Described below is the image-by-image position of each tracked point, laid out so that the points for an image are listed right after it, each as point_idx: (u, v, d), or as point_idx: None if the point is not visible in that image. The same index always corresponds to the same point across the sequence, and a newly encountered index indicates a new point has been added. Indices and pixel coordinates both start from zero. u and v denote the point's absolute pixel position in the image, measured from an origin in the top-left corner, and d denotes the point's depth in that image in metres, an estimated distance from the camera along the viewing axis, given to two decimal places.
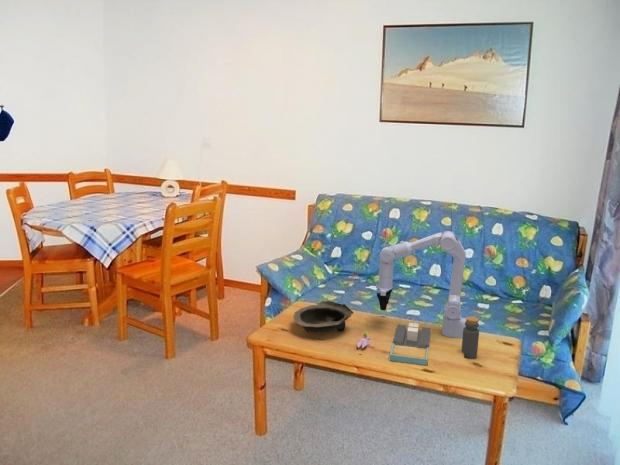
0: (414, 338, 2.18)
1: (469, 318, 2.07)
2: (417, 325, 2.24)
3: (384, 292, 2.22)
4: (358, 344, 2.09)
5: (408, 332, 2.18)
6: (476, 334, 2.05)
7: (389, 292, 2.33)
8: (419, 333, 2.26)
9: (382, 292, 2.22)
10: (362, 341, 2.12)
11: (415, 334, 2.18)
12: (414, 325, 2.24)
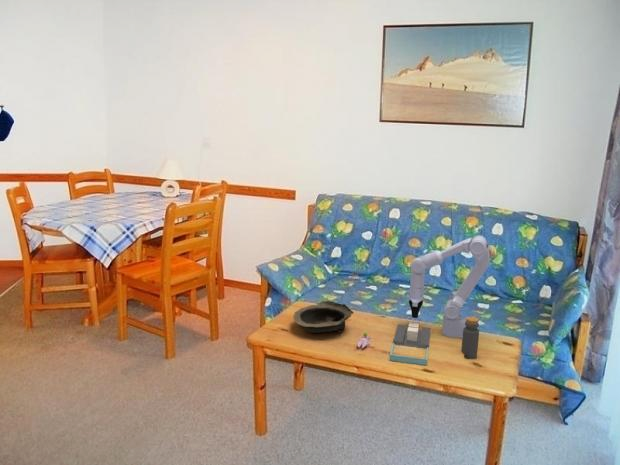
0: (414, 338, 2.18)
1: (469, 318, 2.07)
2: (417, 325, 2.24)
3: (416, 303, 2.21)
4: (358, 344, 2.10)
5: (408, 332, 2.18)
6: (476, 334, 2.05)
7: None
8: (419, 333, 2.26)
9: (414, 303, 2.22)
10: (362, 341, 2.12)
11: (415, 334, 2.18)
12: (414, 325, 2.24)
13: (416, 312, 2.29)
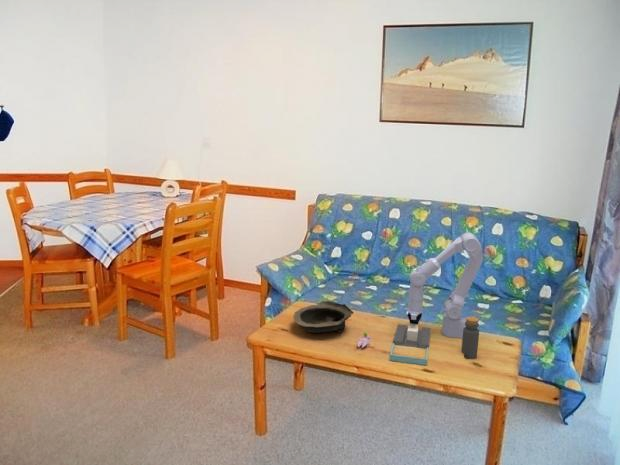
0: (414, 338, 2.18)
1: (469, 318, 2.06)
2: (417, 326, 2.23)
3: (415, 316, 2.19)
4: (358, 343, 2.10)
5: (408, 332, 2.18)
6: (476, 334, 2.05)
7: None
8: (419, 333, 2.26)
9: (413, 316, 2.19)
10: (362, 340, 2.13)
11: (415, 334, 2.18)
12: (413, 325, 2.23)
13: None
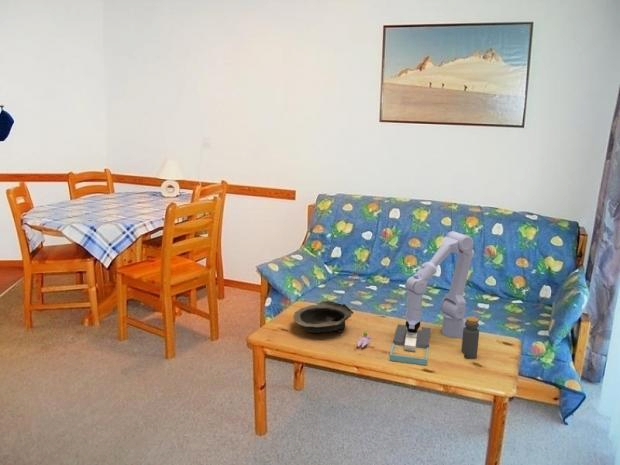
0: None
1: (469, 318, 2.07)
2: (415, 335, 2.14)
3: (413, 325, 2.10)
4: (358, 343, 2.10)
5: (406, 346, 2.09)
6: (476, 334, 2.05)
7: None
8: (419, 333, 2.26)
9: (411, 325, 2.10)
10: (362, 340, 2.13)
11: (413, 348, 2.08)
12: (411, 334, 2.14)
13: None
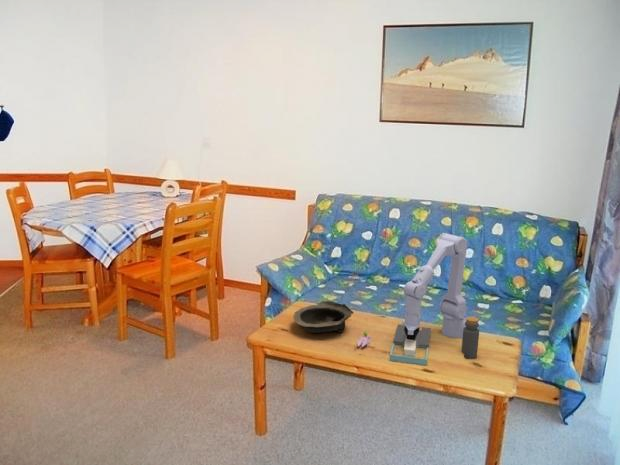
0: (411, 356, 2.04)
1: (469, 318, 2.07)
2: (414, 343, 2.08)
3: (412, 331, 2.04)
4: (358, 343, 2.10)
5: (405, 351, 2.04)
6: (476, 334, 2.05)
7: None
8: (419, 333, 2.26)
9: (410, 331, 2.04)
10: (362, 340, 2.13)
11: (412, 353, 2.03)
12: (410, 342, 2.09)
13: None
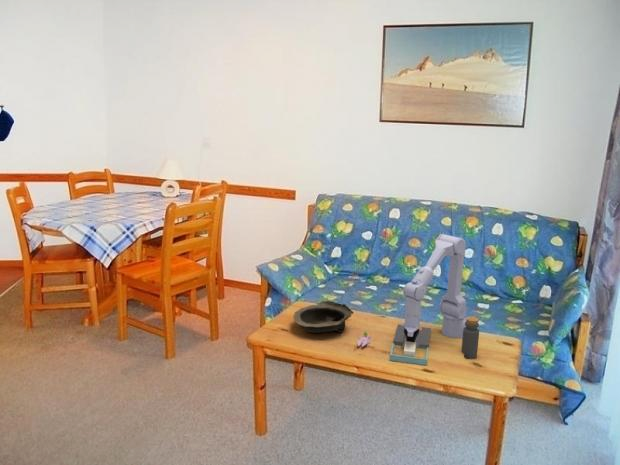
0: None
1: (469, 318, 2.07)
2: (414, 345, 2.07)
3: (411, 333, 2.02)
4: (358, 343, 2.11)
5: (405, 353, 2.02)
6: (476, 334, 2.05)
7: None
8: (419, 333, 2.26)
9: (409, 333, 2.03)
10: (362, 340, 2.13)
11: (412, 354, 2.02)
12: (410, 344, 2.07)
13: (412, 341, 2.10)
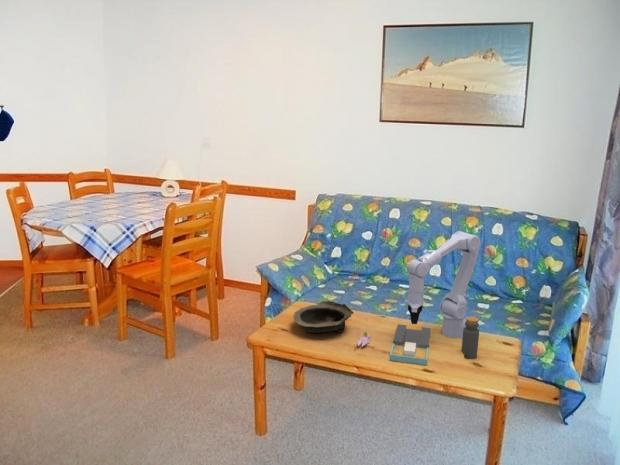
0: None
1: (469, 318, 2.07)
2: (414, 345, 2.07)
3: (415, 308, 2.07)
4: (358, 343, 2.11)
5: (405, 352, 2.03)
6: (476, 334, 2.05)
7: None
8: (419, 333, 2.26)
9: (413, 308, 2.07)
10: (362, 340, 2.14)
11: (412, 354, 2.02)
12: (410, 344, 2.08)
13: (415, 318, 2.14)
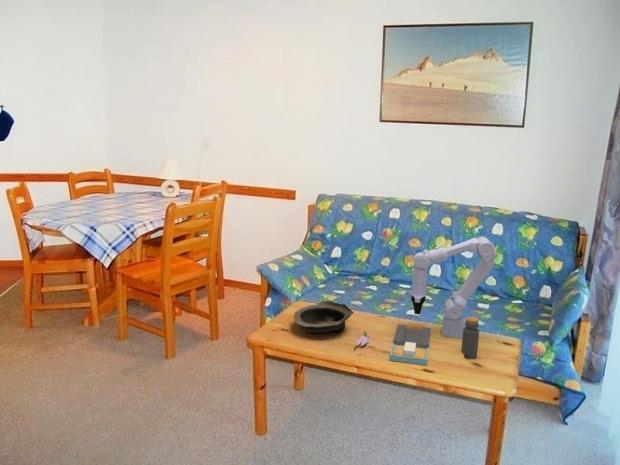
0: None
1: (469, 318, 2.07)
2: (414, 345, 2.07)
3: (418, 299, 2.17)
4: (357, 342, 2.11)
5: (405, 352, 2.03)
6: (476, 334, 2.05)
7: None
8: (419, 333, 2.26)
9: (416, 299, 2.17)
10: (362, 339, 2.14)
11: (412, 354, 2.02)
12: (410, 344, 2.08)
13: (419, 308, 2.24)
